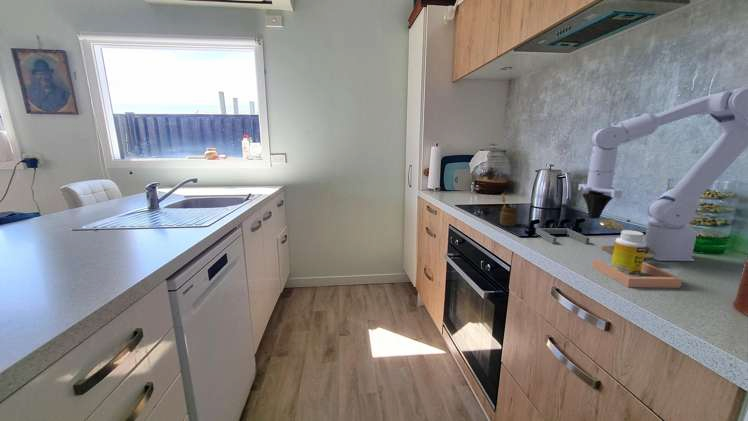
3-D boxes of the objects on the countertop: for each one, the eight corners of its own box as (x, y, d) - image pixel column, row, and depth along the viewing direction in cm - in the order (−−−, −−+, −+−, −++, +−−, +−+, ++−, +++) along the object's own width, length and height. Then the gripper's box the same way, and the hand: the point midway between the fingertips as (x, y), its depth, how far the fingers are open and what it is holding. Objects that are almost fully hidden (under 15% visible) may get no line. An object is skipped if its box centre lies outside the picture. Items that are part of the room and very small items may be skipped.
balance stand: (622, 249, 86) (626, 231, 85) (646, 259, 78) (650, 240, 77) (601, 249, 86) (604, 231, 85) (623, 259, 78) (627, 239, 77)
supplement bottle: (633, 279, 66) (642, 237, 64) (605, 271, 71) (612, 231, 69) (644, 274, 69) (652, 233, 67) (616, 266, 74) (623, 227, 72)
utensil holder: (510, 227, 111) (513, 196, 108) (495, 223, 116) (498, 194, 113) (519, 224, 114) (522, 194, 112) (504, 221, 119) (506, 192, 117)
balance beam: (612, 220, 89) (615, 214, 88) (659, 258, 74) (664, 251, 73) (595, 220, 89) (598, 214, 88) (639, 258, 74) (643, 251, 73)
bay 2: (637, 267, 73) (638, 259, 73) (680, 287, 63) (682, 279, 62) (592, 266, 74) (593, 259, 73) (627, 287, 63) (629, 278, 63)
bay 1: (552, 243, 91) (553, 237, 91) (535, 233, 102) (535, 228, 102) (588, 244, 91) (589, 238, 91) (567, 233, 102) (568, 228, 101)
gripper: (570, 169, 90) (565, 212, 92) (605, 173, 75) (597, 224, 78) (594, 169, 89) (587, 212, 92) (633, 173, 75) (624, 224, 78)
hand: (593, 218), depth 85 cm, fingers closed
